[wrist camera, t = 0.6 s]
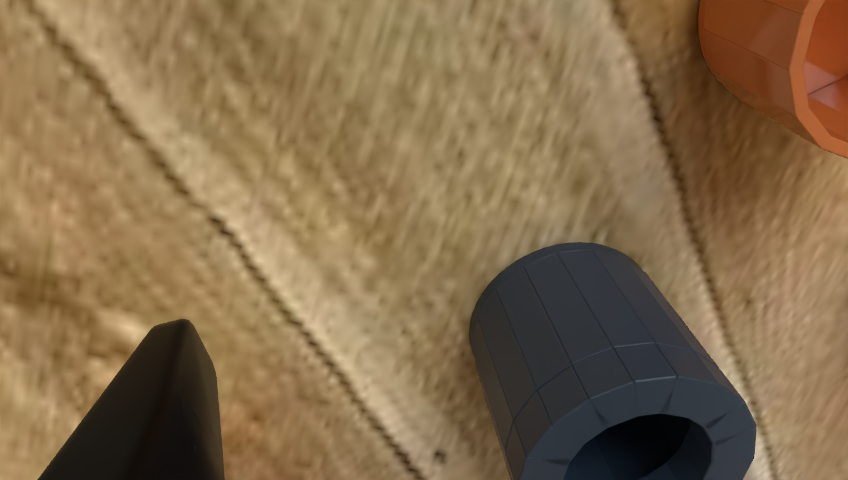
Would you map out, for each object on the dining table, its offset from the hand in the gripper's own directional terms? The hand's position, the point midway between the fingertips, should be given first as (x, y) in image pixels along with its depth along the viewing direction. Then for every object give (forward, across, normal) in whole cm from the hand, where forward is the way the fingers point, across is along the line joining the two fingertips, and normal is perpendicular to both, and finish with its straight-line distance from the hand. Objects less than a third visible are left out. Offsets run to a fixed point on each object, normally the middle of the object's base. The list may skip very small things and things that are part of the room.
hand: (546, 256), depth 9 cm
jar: (+12, -4, +14) cm, 19 cm away
